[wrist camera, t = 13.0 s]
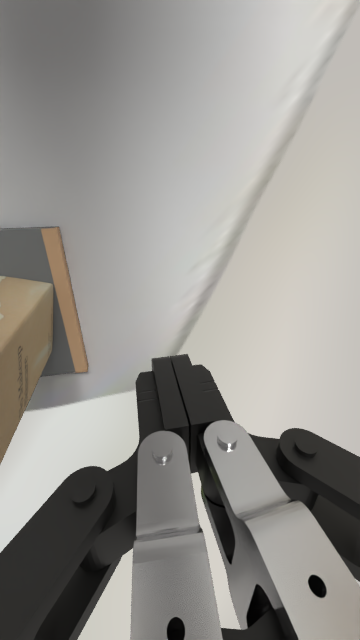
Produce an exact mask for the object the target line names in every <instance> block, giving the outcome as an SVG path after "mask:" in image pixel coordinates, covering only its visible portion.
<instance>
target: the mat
mask: <svg viewBox="0 0 360 640" xmlns="http://www.w3.org/2000/svg"><path fill="white" fill-rule="evenodd" d="M0 276H6V277H13V278H20V279H27V280H33V281H40V282H46V283H51V284H53V341H52V351H51V354H50V356H49V358H48V360H47V363H46V365H45V367H44V369H43V371H42V373H41V376H40V377H42V376H49V375H57V374H65V373H73V372H76V373H80V372H87V370H88V362H87V357H86V352H85V348H84V343H83V338H82V333H81V329H80V324H79V319H78V315H77V310H76V305H75V300H74V296H73V291H72V286H71V282H70V277H69V272H68V267H67V263H66V258H65V253H64V248H63V244H62V239H61V234H60V230H59V227H37V228H4V229H0Z"/></svg>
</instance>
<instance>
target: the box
mask: <svg viewBox="0 0 360 640" xmlns="http://www.w3.org/2000/svg"><path fill="white" fill-rule="evenodd" d="M52 341H53V284H51V283H46V282H40V281H33V280H27V279H20V278H13V277H6V276H0V463H1V462H2V460H3V457H4V455H5V453H6V450H7V448H8V446H9V444H10V442H11V439H12V437H13V435H14V433H15V431H16V429H17V426H18V424H19V422H20V420H21V418H22V416H23V413H24V411H25V409H26V407H27V405H28V402H29V400H30V398H31V396H32V393H33V391H34V389H35V387H36V385H37V382H38V380H39V378H40V376H41V373H42V371H43V369H44V367H45V365H46V363H47V360H48V358H49V356H50V354H51V351H52Z"/></svg>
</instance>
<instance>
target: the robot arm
mask: <svg viewBox="0 0 360 640" xmlns="http://www.w3.org/2000/svg"><path fill="white" fill-rule="evenodd" d="M136 395H137V408H138V421H139V435H140V438H139V444H138V447H137V449H136V451H135V452H134V453H133V455H132V456H131V457H130V458H129V459H128V460H127V461H125V462H123V463H122V464H120V465H118V466H116V467H115V468H112V469H111V470H109V471H106V470H105V469H103V468H101V467H97V466H89V467H84V468H81V469H79V470H77V471H75V472H74V473H72V474H71V475H70V476H68V477H67V478H66V479H65V480H64V482H63V483H62V484H61V485H60V486H59V487H58V488H57V489H56V490H55V492H54V493H53V494H52V495H51V496H50V497H49V498H48V500H47V501H46V502H45V503H44V504H43V505H42V506H41V508H40V509H39V510H38V511H37V512H36V513H35V514H34V515H33V517H32V518H31V519H30V520H29V521H28V522H27V523H26V525H25V526H24V527H23V528H22V529H21V530H20V531H19V533H18V534H17V535H16V536H15V537H14V538H13V539H12V540H11V541H10V543H9V544H8V545H7V546H6V547H5V548H4V549H3V551H2V552H1V553H0V640H77V639H78V637H79V635H80V633H81V632H82V630H83V628H84V626H85V624H86V622H87V621H88V619H89V617H90V615H91V613H92V611H93V609H94V608H95V606H96V604H97V602H98V600H99V598H100V597H101V595H102V593H103V591H104V589H105V587H106V585H107V584H108V582H109V580H110V578H111V576H112V574H113V573H114V571H115V569H116V567H117V565H118V563H119V561H120V559H121V557H122V555H124V554H125V553H127V552H128V551H129V550H131V549H132V548H133V569H132V602H131V603H132V604H131V637H130V640H360V586H359V584H358V583H357V582H356V580H355V579H357V580H358V581H360V457H359V456H356V455H355V454H353V453H351V452H349V451H346V450H345V449H343V448H341V447H339V446H337V445H335V444H333V443H331V442H329V441H327V440H325V439H323V438H322V437H320V436H318V435H316V434H314V433H312V432H310V431H307V430H304V429H299V428H292V429H288V430H286V431H284V432H283V433H282V435H281V437H280V439H275V438H266V437H258V436H254V435H251V434H249V433H247V431H246V430H245V429H244V428H243V427H242V426H240V425H239V424H237V423H235V422H234V420H233V418H232V416H231V414H230V412H229V410H228V408H227V406H226V404H225V402H224V400H223V398H222V396H221V394H220V391H219V390H218V387H217V385H216V383H215V382H214V379H213V377H212V375H211V373H210V371H208V370H207V369H206V368H205V367H204V366H202V365H193V366H192V364H191V361H190V359H189V357H188V354H184V355H176V356H170V358H169V356H168V357H161V358H153V359H152V371H149V372H142V373H140V374H139V376H138V378H137V380H136ZM195 472H198V473H199V477H200V480H201V495H202V499H203V502H204V505H205V508H206V511H207V514H208V517H209V520H210V523H211V526H212V529H213V532H214V535H215V538H216V541H217V544H218V547H219V550H220V553H221V556H222V559H223V562H224V565H225V569H226V573H227V578H228V585H229V590H230V594H231V598H232V602H233V606H234V609H235V612H236V615H237V618H238V621H239V624H240V628H241V630H237V629H226V628H221V627H220V621H219V616H218V610H217V604H216V598H215V593H214V587H213V581H212V576H211V570H210V564H209V559H208V553H207V547H206V543H205V538H204V534H203V531H202V529H201V527H200V524H199V520H198V515H197V509H196V502H195V496H194V490H193V484H192V478H191V473H195Z"/></svg>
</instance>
